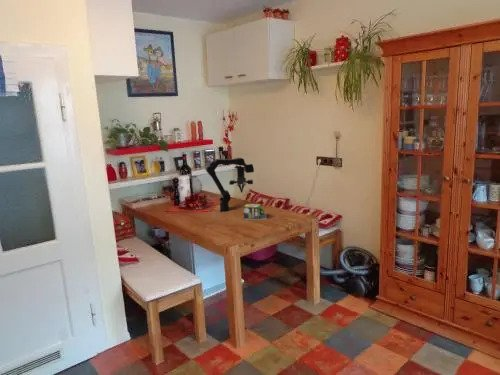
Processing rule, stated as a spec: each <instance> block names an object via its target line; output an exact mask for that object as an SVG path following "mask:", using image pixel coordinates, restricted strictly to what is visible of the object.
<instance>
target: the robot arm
mask: <svg viewBox="0 0 500 375" xmlns="http://www.w3.org/2000/svg"><path fill="white" fill-rule="evenodd" d="M219 165H235V166H234V169H236V174H237V177H236V180H235V179H230V180H229V182H228V183H229V185H231V186H233V185H234V184H236V186H237V187H238V188H239V190H240V193H241V194H242V193H243V191H244V187H245V186H246V185H247V184H248V185H253V184H254V179H247V178H246V177H245V173H246V174H248V173H249V174H251V173H254V172H255V168H254V165H253V163H250V164H247V163H246V161H245V159H244V158H242V157H235V158H225V159H223V158H221V159H219V158H215V159H214V160H213V161H212V162H211V163H209V164H208V165H207V166H206V167H205V169H204V170H205V172H206V173H207V174H208V175H209V176H210V177H211V179H212V180H213V182H214V184H215V185H216V187H217V189H218V191H219V193H220V196H221V197H220V198H219V208H220V209H219V212H229V210H230V204H229V203H230V200H231V196H232V195H231V194H230V192H229V191H228V189H225V188H224V186H223V185H222V183H221V181H220V179H219V177H218V176H217V174H216V173H217V172H216V169H217V167H218V166H219Z"/></svg>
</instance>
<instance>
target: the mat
mask: <svg viewBox="0 0 500 375" xmlns="http://www.w3.org/2000/svg"><path fill="white" fill-rule="evenodd" d="M267 213H268V212H264V215H262V216H261V217H260V218H259V219H248V218H243V219H244V220H243V221H260V220H261V221H262V220H264V221H265V220H267V217H268V214H267Z"/></svg>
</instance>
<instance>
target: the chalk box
mask: <svg viewBox="0 0 500 375" xmlns="http://www.w3.org/2000/svg"><path fill="white" fill-rule="evenodd" d="M264 213H265V208H262V204H260V203H246V204H245V205H243V219H245V218H248V219H259V218H260V217H261V216H262V215H264Z"/></svg>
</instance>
